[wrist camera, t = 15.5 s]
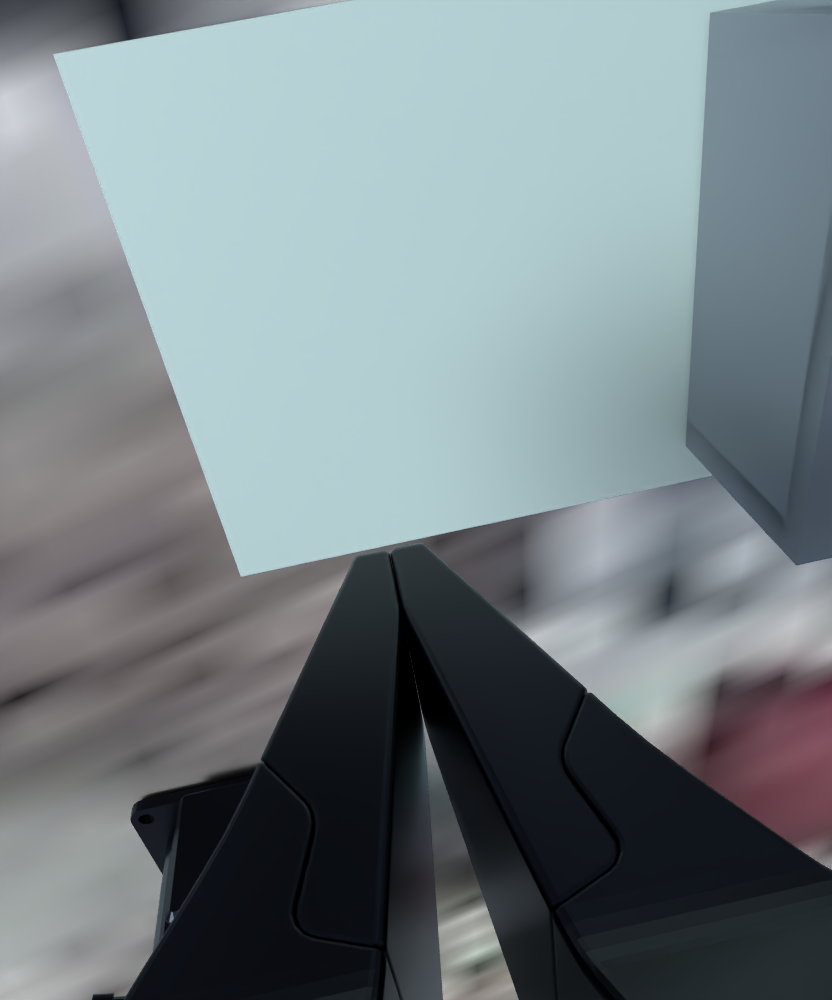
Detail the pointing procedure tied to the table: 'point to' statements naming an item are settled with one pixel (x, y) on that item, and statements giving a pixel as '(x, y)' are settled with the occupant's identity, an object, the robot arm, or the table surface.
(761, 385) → the cover
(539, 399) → the board
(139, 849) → the table surface
